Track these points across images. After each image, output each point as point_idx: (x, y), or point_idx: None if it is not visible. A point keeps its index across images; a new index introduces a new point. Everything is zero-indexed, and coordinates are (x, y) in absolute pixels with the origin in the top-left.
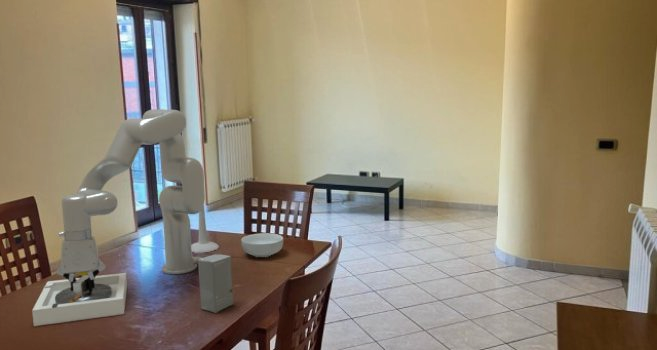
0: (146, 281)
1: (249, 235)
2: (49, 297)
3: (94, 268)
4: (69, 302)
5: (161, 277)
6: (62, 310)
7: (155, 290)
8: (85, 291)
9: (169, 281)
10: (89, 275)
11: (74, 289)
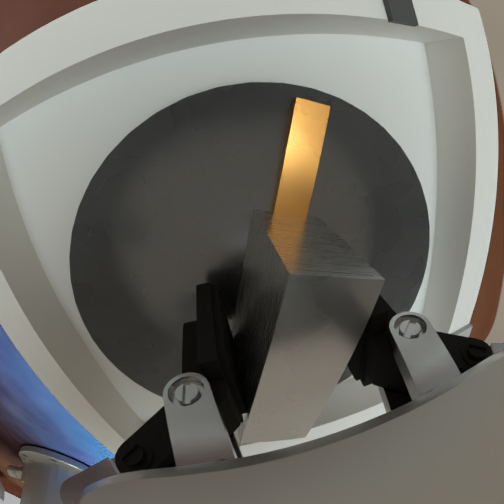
0: (90, 434)
1: (1, 500)
2: (440, 268)
3: (96, 501)
4: (326, 106)
5: (66, 444)
6: None
7: (6, 365)
8: (246, 281)
9: (21, 416)
10: (212, 414)
11: (340, 245)
